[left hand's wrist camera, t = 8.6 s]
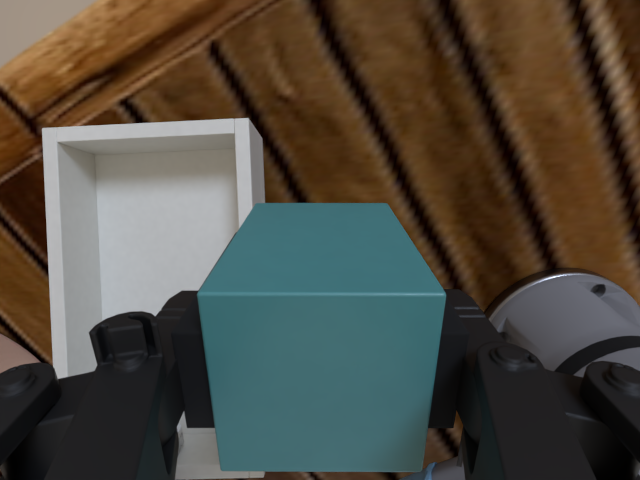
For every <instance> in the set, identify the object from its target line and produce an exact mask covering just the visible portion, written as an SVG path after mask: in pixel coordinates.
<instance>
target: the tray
mask: <svg viewBox="0 0 640 480" xmlns="http://www.w3.org/2000/svg"><path fill="white" fill-rule="evenodd" d="M42 139H43V160H44V182H45V203H46V224H47V246H48V267H49V288H50V310H51V331H52V352H53V367H54V368H55V372H56V375H57V378H58V379H60V378H65V377H69V376H74V375H79V374H84V373H88V372H92V371H95V369H96V367H97V362H96V358H95V354H94V351H93V347H92V343H91V339H90V336H89V332H90V330H91V329H92V328H93V327H94V326H95V325H97V324H98V323H100V322H101V321H103V320H105V319H107V318H109V317H112V316H115V315H117V314H121V313H126V312H133V311H143V312H148V313H152V314H153V315H154V316H156V315H157V314H158V312H159V311H161V308H162V307H163V306H164V304H165V303H166V302H167V301H168V299H169V298H171V297H173V296H174V295H176V294H177V293H179V292H180V291H182V290H199V289H200V287H201V286H202V284H203V282H204V281H205V279H206V278H207V276H208V275H209V273H210V272H211V270H212V269H213V267H214V265H215V264H216V262H217V261H218V259H219V258H220V256H221V255H222V253H223V251H224V250H225V248H226V247H227V245H228V244H229V242H230V241H231V239H232V238H233V236H234V234H235V233H236V232H237V231H238V230H239V228H240V227H241V225H242V224H243V222H244V221H245V219H246V218H247V216H248V215H249V213H250V211H251V210H252V208H253V207H254V205H255V204H256V203H265V190H264V166H263V142H262V137H261V136H260V134H259V133H258V131H257V130H256V129H255V127H254V126H253V124H252V123H251V121H250V120H249V118H240V119H217V120H197V121H177V122H156V123H136V124H116V125H96V126H76V127H57V128H42ZM179 424H181V428H182V433H183V438H184V444H183V445H182V446H181V451H180V453H179V455H178V458H177V466H176V475H175V480H183V479H225V478H249V477H250V478H263V477H264V475H265V471H221V470H220V463H219V455H218V448H217V441H216V433H215V428H187V425H186V420H185V414H184V412H183V414H182V417H181V419H180V421H179Z"/></svg>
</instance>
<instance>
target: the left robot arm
mask: <svg viewBox="0 0 640 480" xmlns="http://www.w3.org/2000/svg"><path fill="white" fill-rule="evenodd" d="M236 233H237V232H236ZM236 233H235V234H236ZM235 234H234V236H235ZM234 236H233V237H234ZM232 239H233V238H232ZM232 239H231V241H232ZM231 241H230V242H231ZM230 242H229V244H230ZM229 244H228V245H229ZM228 245H227V247H228ZM227 247H226V248H227ZM226 248H225V250H226ZM225 250H224V251H225ZM224 251H223V253H224ZM223 253H222V254H223ZM221 256H222V255H221ZM221 256H220V257H221ZM219 259H220V258H219ZM219 259H218V260H219ZM217 262H218V261H217ZM217 262H216V264H217ZM216 264H215V265H216ZM215 265H214V267H215ZM214 267H213V268H214ZM212 270H213V269H212ZM212 270H211V271H212ZM210 273H211V272H210ZM210 273H209V274H210ZM208 276H209V275H208ZM208 276H207V277H208ZM206 279H207V278H206ZM206 279H205V280H206ZM204 282H205V281H204ZM204 282H203V283H204ZM202 285H203V284H202ZM201 287H202V286H201ZM201 287H200V288H201ZM199 290H200V289H199ZM199 290H182V291H180V292H179V293H177V294H176V295H174V296H173V297H171V298H169V299H168V301H167V302H166V303H165V304H164V306H163V307H162V308H161V311H159V312H158V314H157V315H156V316H154V315H153V314H152V313H148V312H143V311H133V312H126V313H121V314H117V315H115V316H112V317H109V318H107V319H105V320H103V321H101V322H100V323H98V324H97V325H95V326H94V327H93V328H92V329H91V330H90V332H89V336H90V339H91V343H92V347H93V351H94V354H95V358H96V362H97V367H96V369H95V371H92V372H88V373H84V374H79V375H74V376H69V377H65V378H60V379H58V378H57V375H56V372H55V368H54V367H52V366H51V365H50V364H47V363H40V362H37V363H29V364H23V365H19V366H17V367H16V366H15V367H12V368H10V369H7V370H6V371H4V372H2V373H0V469H1V472H2V474H3V475H2V477H1V478H0V480H175V475H176V466H177V458H178V449H179V437H178V431H177V426H178V423H179V421H180V419H181V417H182V414H183V412H184V414H185V420H186V425H187V428H215V426H214V418H213V411H212V403H211V396H210V388H209V381H208V373H207V366H206V358H205V351H204V343H203V336H202V328H201V321H200V313H199V306H198V299H197V293H198V291H199ZM443 290H444V291H445V293H446V301H445V308H444V316H443V323H442V330H441V337H440V345H439V352H438V359H437V366H436V373H435V381H434V388H433V395H432V402H431V410H430V417H429V424H428V428H453V427H454V421H455V415H456V409H457V412H458V414H459V416H460V419H461V421H462V423H463V431H462V436H461V442H460V447H459V453H458V456H457V457H454V458H452V459H449V460H446V461H443V462H440V463H437V462H435V463H434V462H433V463H429V465H428V466H427V468H425V469H423V470H422V471H421V472H416V473H413V474H411V475H409V476H406V477H404V478H401V479H399V480H640V307H639V306H638V304H637V303H636V302H635V300H634V299H633V298H632V297H631V296H630V295H629V294H628V293H627V292H626V291H625V290H624V289H622V288H621V287H620V286H618V285H617V284H615V283H614V282H612V281H610V280H608V279H607V278H605V277H603V276H601V275H599V274H597V273H594V272H592V271H588V270H584V269H578V268H558V269H551V270H546V271H542V272H539V273H536V274H533V275H530V276H528V277H526V278H524V279H522V280H520V281H518V282H516V283H515V284H513V285H512V286H510V287H509V288H507V289H506V290H505V291H504V292H502V293H501V294H500V295H499V296H498V297H497V298H496V299H495V300H494V302H493V303H492V304H491V305H490V306H489V308H488V309H487V311H486V312H485V314H484V313H483V312H482V310H481V309H479V306H478V305H477V304H476V303H475V301H474V300H473V299H472V298H471V297H470V296H468V295H467V294H465V293H464V292H462V291H460V290H459V289H443Z"/></svg>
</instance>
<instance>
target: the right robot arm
mask: <svg viewBox="0 0 640 480" xmlns="http://www.w3.org/2000/svg"><path fill="white" fill-rule="evenodd" d="M177 431H178V437H179V449H178V455H179V453H180V451H181V446H182V445H183V444H184V438H183V433H182V428H181V424H179V423H178V426H177ZM183 480H189V479H183Z"/></svg>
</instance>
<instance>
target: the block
mask: <svg viewBox="0 0 640 480" xmlns="http://www.w3.org/2000/svg"><path fill="white" fill-rule="evenodd" d="M197 299H198V306H199V313H200V321H201V328H202V336H203V343H204V351H205V358H206V366H207V373H208V381H209V388H210V396H211V403H212V411H213V418H214V426H215V433H216V441H217V448H218V455H219V463H220V470H221V471H285V472H421V471H422V467H423V460H424V453H425V446H426V438H427V431H428V424H429V417H430V410H431V402H432V395H433V388H434V381H435V373H436V366H437V359H438V352H439V345H440V337H441V330H442V323H443V316H444V308H445V301H446V293H445V291H444V290H443V288H442V287H441V285H440V284H439V282H438V280H437V279H436V277H435V276H434V274H433V273H432V271H431V270H430V268H429V267H428V265H427V264H426V262H425V261H424V259H423V257H422V256H421V254H420V253H419V251H418V250H417V248H416V247H415V245H414V244H413V242H412V241H411V239H410V238H409V236H408V235H407V233H406V231H405V230H404V228H403V227H402V225H401V224H400V222H399V221H398V219H397V218H396V216H395V215H394V213H393V212H392V210H391V209H390V207H389V205H388V204H386V203H256V204H255V205H254V207H253V208H252V210H251V211H250V213H249V215H248V216H247V218H246V219H245V221H244V222H243V224H242V225H241V227H240V228H239V230H238V231H237V233H236V234H235V236H234V237H233V239H232V241H231V242H230V244H229V245H228V247H227V248H226V250H225V251H224V253H223V254H222V256H221V257H220V259H219V260H218V262H217V264H216V265H215V267H214V268H213V270H212V271H211V273H210V274H209V276H208V277H207V279H206V280H205V282H204V283H203V285H202V287H201V288H200V290H199V291H198V293H197Z"/></svg>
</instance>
